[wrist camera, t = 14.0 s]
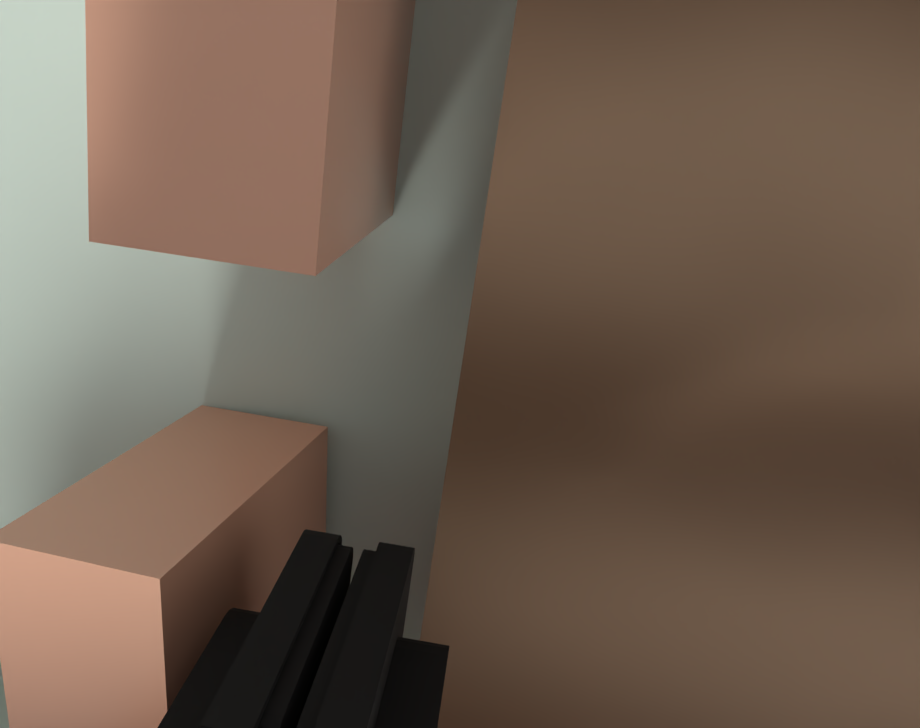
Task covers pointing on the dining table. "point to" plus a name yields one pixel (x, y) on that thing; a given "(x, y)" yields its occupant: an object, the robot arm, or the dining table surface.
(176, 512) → the tile
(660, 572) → the board
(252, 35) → the tile
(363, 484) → the tray
